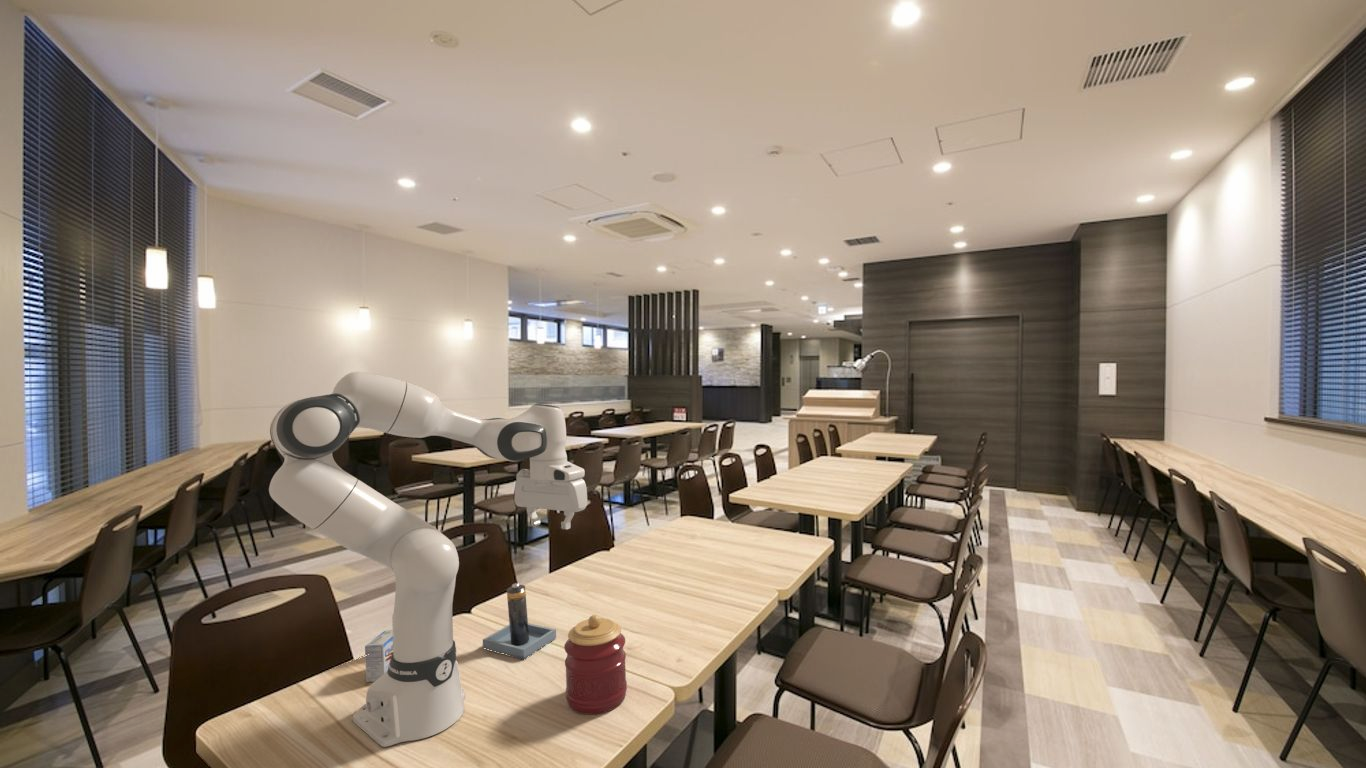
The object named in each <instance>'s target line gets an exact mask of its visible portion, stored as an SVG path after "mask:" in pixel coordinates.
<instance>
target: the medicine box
mask: <svg viewBox="0 0 1366 768" xmlns="http://www.w3.org/2000/svg"><path fill="white" fill-rule="evenodd" d="M392 652H393V629H390V630H384V631H383V632H381V633H380V634H379V635H378V636H376V637H375V638H374V639H372V641H370V642H368V643H367V644H366V645H364V658H365V660H364V661H365V682H366V683H373V682H375V681H376V680H377V679H378V678H379V677H380V676H382V675H383V674H384V673H385V672H386V671H387V670H388V667H389V663H390V660H391V659H389V660H387V661H385V660H386V659H387V658H388V657H389V656H391V655H389V656H387V657H385V656H386V655H388V654H390V653H392ZM368 654H369V655H368ZM365 655H367V656H365Z"/></svg>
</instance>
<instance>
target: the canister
mask: <svg viewBox="0 0 1366 768" xmlns="http://www.w3.org/2000/svg"><path fill="white" fill-rule="evenodd" d="M567 637H568V639H567V640H566V642H565V643H564V645H563V646H564V647H563V649H564V651H565V653H566V657H565V660H564V666H565V678H566V679H565V683H566V684H565V685H566V688H565V698H566V701H567V705H568V707H569V708H570V709H571V710H572V711H574V712H576V713H580V714H583V715H598V714H599V715H600V714H603V713H607V712H609V711H612V710H613V709H616V708H617V707H619V706H620V705H621V704H622V703H623V701H625V698H626V696H627V695H626V694H627V691H628V686H627V685H628V683H627V679H626V656H627V654H626V652H625V650H624V646H625V645H626V637H625V636H624V634H623V633H622V627H621V626H620V624H619V623H617V622H614V621H613V620H611V619H609V618H604V617H600V616H599V615H597V614H592V615H591V616H589V618H588V619H585V620H582V621H580V622H578V623H577V624H576V625H575V626H573V627H572V628H571V629H570V630H569V632H568V634H567Z"/></svg>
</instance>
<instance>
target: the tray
mask: <svg viewBox="0 0 1366 768" xmlns="http://www.w3.org/2000/svg"><path fill="white" fill-rule="evenodd" d="M528 630H529V641H528V642H527V643H525V644H523V645H518V646H514V645H512V644H511V637H510V624H508V625H506V626H504V627H502V628H500V629H499V630H497V631H495V632H494V633H492V634H490V635H488V636H486V637H485V638H483V639H482V649H483V648H486V649H489V650H492V651H496V652H499V653H504V654H507V655H510V656H509V657H511V656H513V657H512V658H514V657H517V658H516V659H518V658H520V659H519V660H522V659H523V661H525V660H527V659H528V658H529V657H528V656H530V655H531V654H532V653H534V652H535V651H537V650H538V649H540V648H541V647H543V646H544V645H546V644H548V643H549V644H551V643H552V642H553V641H552V640H554V639H555V638H556V639H557V629H556V628H552V627H548V626H547V627H546V626H542V625H537V624H534V623H530V622H528ZM556 639H555V640H556ZM555 640H554V641H555ZM551 641H552V642H551ZM550 642H551V643H550ZM549 644H548V645H549ZM546 646H547V645H546ZM543 648H544V647H543ZM540 650H541V649H540ZM492 651H491V652H492ZM537 652H538V651H537ZM499 653H498V654H499ZM534 654H535V653H534ZM507 655H506V656H507ZM531 656H532V655H531ZM531 656H530V657H531ZM527 657H528V658H527ZM526 658H527V659H526ZM524 659H525V660H524Z"/></svg>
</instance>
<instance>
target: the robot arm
mask: <svg viewBox="0 0 1366 768" xmlns="http://www.w3.org/2000/svg"><path fill="white" fill-rule="evenodd" d="M275 414H276V415H275V416H274V417H273V418H272V421H271V423H270V428H269V432H270V439H271V441H272V444H273V446H274V447H275V450H276V452H277V455H278V456H279V458H280V462H282V465H281V466H280V467H279V468H278V469H277V471H276V472H275V473H274V475H273V476H272V478H271V480H270V483H269V486H268V492H269V496H270V497H271V499H272V500H273V501H274V502H275V503H276V504H277V505H278V506H279V507H280V508H282V509H283V510H284V511H285V512H287V513H288V514H289V515H291V516H292V517H293V518H294V519H296V520H297V521H298V522H300V523H302V524H304V525H305V526H307V527H308V528H310V529H312V530H314V531H316V532H317V533H319V534H321V535H322V536H324V537H326V538H327V539H330V540H331V541H333V542H335V543H336V544H338V545H340V546H342V547H343V548H345V549H347V550H349V551H351V552H354V553H356V554H359V555H362V556H364V557H366V558H369V559H371V560H372V561H375V562H376V563H379V564H380V565H383V566H384V567H386V568H387V569H389V570H390V571H392V572H393V575H394V579H395V596H394V606H393V607H394V608H393V614H392V618H391V619H392V620H391V621H392V622H391V623H392V630H393V652H392V653H390V654H388V655H386V656H385V657H387V656H389V655H391V656H389V657H388V658H387V659H386V660H385V661H387V660H389V659H391V660H390V663H389V667H388V670H387V671H386V672H385V673H384V674H383V675H382V676H380V677H379V678H378V679H377V680H376V681H375V682H371V684H370V686H369V687H368V689H367V691H366V695H365V704H363V705H362V706H361V707H359V709H357V710H356V711H355V713H354V714H353V715H352V722H353V723H354V724H355V725H356V726H357V727H359V728H360V729H361V730H363V732H365V733H366V734H367V735H368V736H369V737H371V739H372V740H373V741H375V742H376V743H377V744H378V745H379V746H380V747H383V748H384V747H385V748H386V747H390V746H393V745H396V744H397V745H398V744H399V743H404V742H410V741H418V740H422V739H426V738H428V737H431V736H434V735H437V734H439V733H442V732H443V731H445V730H446V729H449V727H451V726H452V725H454V724H455V723H456V722H457V721H458V720H460V718H461V716H462V715H463V713H464V710H465V707H464V699H465V697H466V692H465V691H466V690H465V689H463V688H462V684H461V683H462V682H461V675H460V670H459V668H460V667H459V663H458V661H457V646H456V642H455V640H454V629H453V624H454V623H453V602H454V594H455V588H456V580H457V579H456V578H457V574H458V571H459V567H460V561H459V559H460V558H459V554H458V551H457V548H456V545H455V544H454V542H453V541H452V540H451V539H449V537H447V536H446V535H445V534H443V533H442V532H441V531H440V530H439V529H437V528H436V527H435V526H434V525H432V524H431V523H429V522H428V521H426V520H424V519H422V518H420V517H419V516H417V515H416V514H414V513H413V512H411V511H409V510H407V509H406V508H404V507H403V506H401V505H399V504H397V503H396V502H394V501H392V500H391V498H388V497H386V496H385V495H383V494H382V493H380V492H378V491H377V490H375V489H374V488H372V487H371V486H369V485H367V483H365V482H363V481H362V480H360V479H358V478H357V477H356V476H353V475H352V474H350V473H349V472H347V471H345V470H344V469H342V467H340V466H339V465H338V463H336V461H335V458H334V457H333V453H334V452H336V451H337V450H338V449H340V448H341V446H342V445H344V444H345V442H346V441H347V440H348V438H349V437H350V436H351V434H352V433H353V432H354V431H355V430H356V428H364V429H371V430H375V431H378V432H381V433H385V434H389V435H394V436H397V437H398V436H399V437H406V438H412V439H413V438H415V439H416V438H418V439H421V438H426V437H431V436H433V437H434V436H436V437H437V436H438V437H443V438H446V439H451V440H454V441H459V442H462V443H465V444H467V445H468V444H469V445H470V446H473V447H474V448H476V450H478V451H479V452H480V453H481V454H483V455H484V456H486V457H488V458H490V459H496V460H497V459H500V460H503V461H508V462H521V461H524V460H528V459H529V469H528V468H527V469H526V468H522V469H520V470H519V471H517V473H516V477H515V478H516V481H515V487H514V498H513V499H514V504H515V505H516V506H517V507H521V508H526V514H527V515H528V517H529V518H530V525H531V526H532V527H533V526H535V527H537V526H540V525H541V517H540V516H538V514H537V510H538V509H540V510H551V511H558V512H559V511H561V512H563V515H564V516H565V518H564V521H561V522H560V525H561V526H560V529H562V530H570V529H571V526H572V525H571V521H572V519H574V518H573V517H574V515H575V513H578V512H582V511H584V510H585V509H586V508H587V506H588V490H587V484H586V482H585V480H584V477H585V472H586V471H585V469H584V468H583V467H580V466H578V465H576V464H574V463H572V462H570V461H568V455H567V451H566V443H567V426H566V425H567V424H566V418H565V413H564V411H563V409H561V408H560V407H559V406H556V405H551V404H543V403H535V404H532V405H531V406H530V407H529V408H528V409H527V410H526V411H524V412H523V413H520V414H519V415H517V416H515V417H512V418H511V419H506V418H502V417H493V418H485V419H483V418H482V419H481V418H477V417H474V416H471V415H468V414H464V413H461V412H459V411H454V410H452V409H449V408H447V406H446V405H444V404H443V403H442V400H441V398H439V396H438V395H437V394H435V393H434V392H432V391H430V390H427V389H426V388H424V387H421V386H420V385H416V384H414V383H412V382H408V381H405V380H402V379H399V378H395V377H391V376H387V375H381V374H376V373H371V372H364V371H353V372H350V373H347V374H346V375H344V376H343V377H342V378H340V379H339V381H337V383H336V384H335V386H334V387H333V391H332V393H329V394H324V395H315V396H310V397H306V398H301V399H298V400H294V401H292V402H288V403H287V404H286V405H284V406H283V407H281V409H280V410H278V411H277V413H275Z"/></svg>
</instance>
